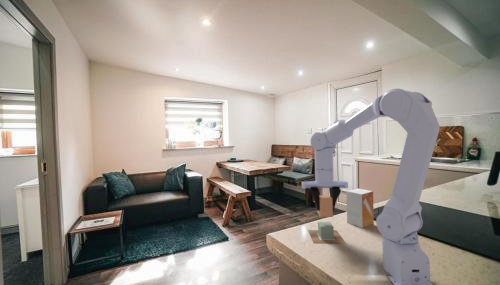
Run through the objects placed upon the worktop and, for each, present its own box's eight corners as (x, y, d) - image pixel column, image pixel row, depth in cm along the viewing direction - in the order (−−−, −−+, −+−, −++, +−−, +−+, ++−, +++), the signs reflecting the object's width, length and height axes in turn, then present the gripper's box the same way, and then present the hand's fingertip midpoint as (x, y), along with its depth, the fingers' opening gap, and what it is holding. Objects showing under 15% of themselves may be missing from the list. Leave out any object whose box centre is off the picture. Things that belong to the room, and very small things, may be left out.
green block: (333, 239, 69) (333, 226, 69) (321, 239, 69) (320, 226, 69) (330, 233, 73) (329, 222, 73) (318, 233, 73) (317, 222, 73)
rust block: (332, 216, 69) (332, 198, 69) (320, 216, 69) (319, 198, 69) (329, 212, 73) (328, 195, 73) (317, 212, 73) (316, 195, 73)
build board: (346, 246, 66) (346, 243, 66) (313, 246, 66) (313, 243, 66) (336, 232, 76) (336, 230, 76) (307, 232, 76) (307, 229, 76)
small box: (362, 230, 77) (362, 194, 77) (346, 224, 82) (345, 191, 82) (374, 225, 81) (373, 190, 81) (358, 220, 86) (357, 188, 86)
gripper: (342, 166, 74) (343, 205, 74) (300, 167, 75) (301, 206, 76) (350, 169, 67) (351, 212, 67) (303, 170, 68) (304, 212, 69)
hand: (325, 209), depth 71 cm, fingers closed on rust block, 4 cm apart
